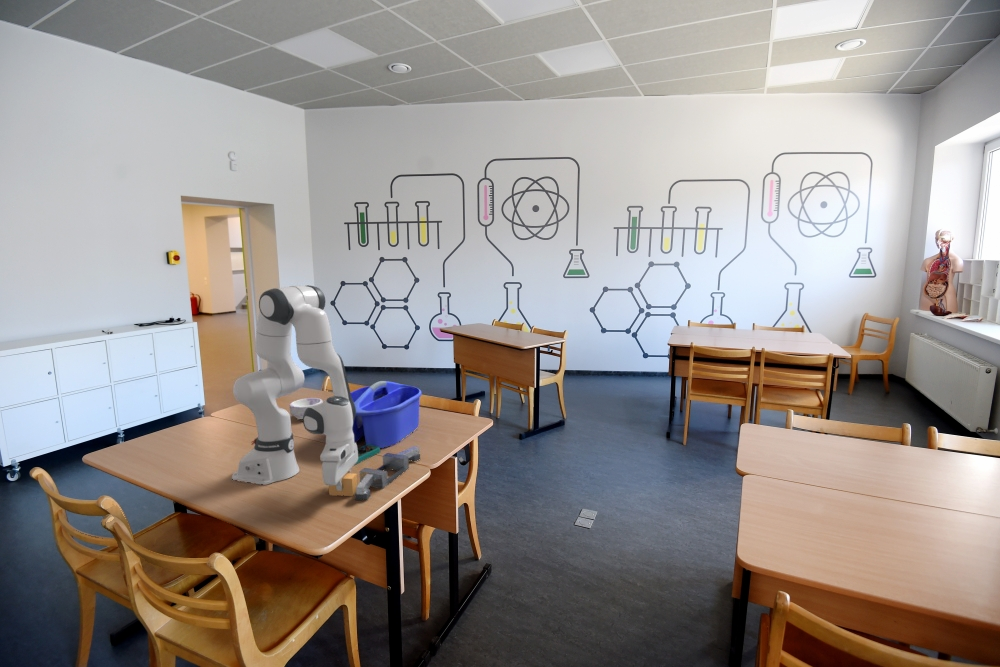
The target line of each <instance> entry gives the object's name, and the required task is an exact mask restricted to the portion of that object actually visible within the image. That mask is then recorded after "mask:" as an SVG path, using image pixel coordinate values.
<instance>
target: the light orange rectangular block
mask: <svg viewBox="0 0 1000 667" xmlns="http://www.w3.org/2000/svg"><path fill="white" fill-rule="evenodd" d="M341 483H342V484H343V489H342V490H341V491H337V490H336V485H328V492H329V496H337V495H341V497H346V496H347V497H354V496H355V493H356V487H357V486H358V476H357V472H356V473H354V472H353V473H346V474H345V475H344V476H343V477H342V481H341ZM343 495H344V496H343ZM353 495H354V496H353Z"/></svg>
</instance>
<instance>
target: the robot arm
mask: <svg viewBox="0 0 1000 667" xmlns="http://www.w3.org/2000/svg"><path fill="white" fill-rule="evenodd" d="M325 306H326V297H325V294H324V292H323V290H322V289H320V288H319V287H317V286H314V285H291V286H284V287H279V288H276V287H275V288H271V289H268V290H265V291H264V292H262V293H261V295H260V297H259V300H258V308H259V313H258V316H257V320H256V321H257V322H256V330H255V331H256V332H255V333H256V334H255V347H254V348H255V349H254V350H255V354H256V355H257V356H258V357H259V358H260V359H262V360H264V361H266V363H267V366H266V368H265V369H260V370H257V371H253V372H249V373H247V374H244V375H243V376H240V377H238V378H237V379H236V380H235V381H234V383H233V387H232V388H233V389H232V392H233V397H234V398H235V399H236V401H237V402H238V403H240V404H241V405H243V406H246V407H247V408H248V409H249V410H250V411H251V413H252V414H253V416H254V419H255V424H256V432H257V437H256V438H254V440H252V441H251V442H250V443H251V446H254V447H253V448H252V449H251V450H250V451H249V452H247V453H246V454H245V455H244V456H242V457H241V459H240V460H239V462H238V468H237V470H235V472H234V473H233V474H231V480H232V479H233V480H239V481H238V482H240V481H245V482H244V483H247V482H251V483H250V484H254V483H256V484H255V485H261V484H263V486H265V485H270V484H271V483H274V482H275V483H276V482H279V481H284V480H287V479H289V478H291V477H294V476H296V475H297V474H298V473H299V472H300V467H299V464H298V462H297V459H296V455H295V449H294V448H295V442H294V441H295V440H294V434H293V432H292V422H291V420H292V419H291V414H290V412H288V411H287V410H286V408H285V409H284V408H282V407H280V406H278V403H277V399H278V398H282V397H285V396H288V395H291V394H293V393H295V392H297V391H298V390H300V389H301V388H303V386H304V385H305V374H304V371H303V370H302V369H301V367H299V365H297V364H296V363H295V362H294V361H293V358H292V357H293V356H292V353H291V349H292V347H291V345H292V344H291V343H292V326H293V327H294V330H295V331H294V332H295V343H296V352H297V353H296V354H297V357H298V359H299V361H300V362H301V363H302V364H304V365H305V366H306V367H309V368H311V369H315V370H321V371H324V372H325V373H326V374H327V376H328V377H329V381H330V384H331V389H332V394H333V396H329V397H327V398H326V399H325V400H324V401H323V403H320V404H317V405H314V406H311V407H309V408H307V409H306V410H305V412H304V415H303V420H302V423H303V426H304V429H305V430H306V431H307V432H308V433H310V434H312V435H324V436H325V445H324V447H323V450H322V452H321V453H320V456H319V458H320V460H319V461H320V462H322V463H321V471H322V479H323V483H324V485H325V486H329V485H336V490H337V491H341V490H342V489H343V484H342V483H341V481H342V477H343V476H344V475H345V474H346V473H351V472H352V468H353V467H354V466H356V465H355V463H356V462H357V461H358V450H357V449H358V445H357V442H355V443H354V433H353V430H352V427H353V420H354V418H355V415H356V407H355V404H354V402H353V399H352V397H351V389H350V384H349V382H348V377H347V372H346V368H345V365H344V361H343V358H342V357H341V355H340V354H339V353H337V352H336V350H335V348H334V344H333V337H332V329H331V324H330V321H329V317H328V314H327V312H326V311H325V310H324V309H325ZM233 480H232V481H233Z"/></svg>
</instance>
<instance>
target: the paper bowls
mask: <svg viewBox="0 0 1000 667" xmlns="http://www.w3.org/2000/svg"><path fill="white" fill-rule="evenodd" d="M323 402H324V401H323V399H321V398H320V397H319V398H317V397H309V398H308V397H307V398H306V397H305V398H301V399H297V400H294V401H292V402H290V403H289V414H290V416H293V417H294V418H295V419H296V418H298V419H303V415H304V412H305V410H306V409H307V408H309V407H311V406H314V405H317V404H320V403H323ZM298 419H297V420H298Z"/></svg>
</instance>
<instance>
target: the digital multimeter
mask: <svg viewBox="0 0 1000 667" xmlns="http://www.w3.org/2000/svg"><path fill="white" fill-rule="evenodd" d="M357 450H358V461H357V462H356V463H355V465H354V466H356V465H359V464H361V463H362V462H364V461H365V459H366V460H367V458H368V459H369V457H370V458H371V457H374V456H376V455H378V454H380V453H381V449H380V448H379V447H377V446H374V445H366V444H365V445H363V446H361V447H359V448H357ZM379 452H380V453H379ZM377 453H378V454H377ZM375 454H376V455H375ZM363 460H364V461H363ZM361 461H362V462H361Z"/></svg>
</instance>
